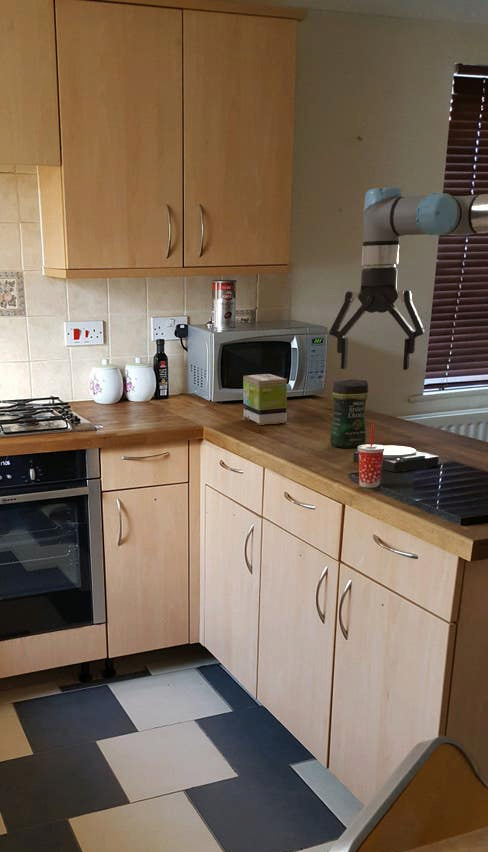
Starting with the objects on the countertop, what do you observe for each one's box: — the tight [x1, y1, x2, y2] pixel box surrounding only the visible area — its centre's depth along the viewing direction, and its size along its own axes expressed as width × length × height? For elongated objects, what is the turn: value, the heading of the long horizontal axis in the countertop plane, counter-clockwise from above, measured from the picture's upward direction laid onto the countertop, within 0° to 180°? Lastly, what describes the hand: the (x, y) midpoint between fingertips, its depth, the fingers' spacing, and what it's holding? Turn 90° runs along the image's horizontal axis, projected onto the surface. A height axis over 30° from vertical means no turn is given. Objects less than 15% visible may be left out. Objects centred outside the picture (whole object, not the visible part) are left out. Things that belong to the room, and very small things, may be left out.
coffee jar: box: [329, 378, 369, 449], centre depth 244 cm, size 10×8×19 cm
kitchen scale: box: [352, 445, 440, 473], centre depth 223 cm, size 16×14×3 cm
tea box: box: [242, 373, 288, 423], centre depth 288 cm, size 15×10×15 cm, turn 15°
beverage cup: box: [357, 424, 386, 489], centre depth 200 cm, size 6×6×14 cm
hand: (374, 368), depth 194 cm, fingers open, 13 cm apart
